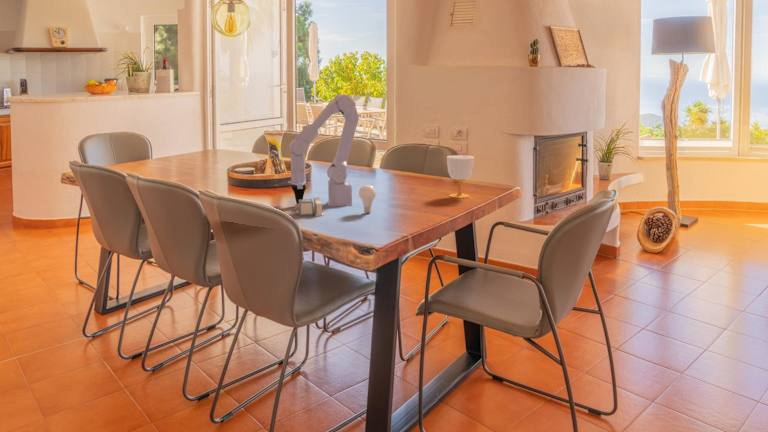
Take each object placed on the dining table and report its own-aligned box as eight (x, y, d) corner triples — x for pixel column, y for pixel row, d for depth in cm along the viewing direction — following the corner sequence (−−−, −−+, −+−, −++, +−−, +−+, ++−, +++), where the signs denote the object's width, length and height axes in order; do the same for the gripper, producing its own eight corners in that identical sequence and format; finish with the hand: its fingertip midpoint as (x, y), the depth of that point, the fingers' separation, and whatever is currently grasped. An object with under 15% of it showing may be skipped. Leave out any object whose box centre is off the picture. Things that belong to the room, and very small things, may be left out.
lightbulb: (362, 215, 238) (362, 187, 236) (356, 212, 244) (356, 184, 242) (378, 214, 241) (378, 185, 238) (372, 211, 246) (371, 183, 244)
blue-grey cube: (312, 211, 243) (311, 198, 241) (313, 214, 238) (312, 201, 237) (298, 212, 242) (298, 199, 240) (299, 215, 237) (299, 201, 236)
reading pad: (311, 213, 243) (311, 211, 243) (312, 216, 237) (312, 215, 237) (298, 213, 242) (298, 212, 242) (299, 217, 236) (299, 215, 236)
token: (307, 208, 250) (307, 203, 250) (303, 210, 246) (303, 205, 246) (297, 208, 251) (297, 203, 250) (294, 209, 247) (293, 204, 247)
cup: (443, 193, 280) (444, 155, 276) (469, 193, 282) (470, 155, 278) (448, 199, 269) (449, 159, 265) (476, 198, 270) (477, 158, 266)
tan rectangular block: (320, 210, 248) (320, 197, 247) (323, 216, 237) (323, 203, 236) (312, 210, 248) (312, 197, 247) (315, 216, 237) (315, 203, 236)
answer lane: (305, 207, 252) (305, 207, 252) (307, 213, 243) (307, 212, 243) (294, 208, 251) (294, 207, 251) (296, 213, 242) (296, 213, 242)
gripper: (286, 167, 258) (288, 200, 261) (289, 173, 244) (290, 207, 247) (304, 167, 259) (305, 199, 262) (307, 172, 245) (308, 207, 248)
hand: (299, 203), depth 254 cm, fingers closed
